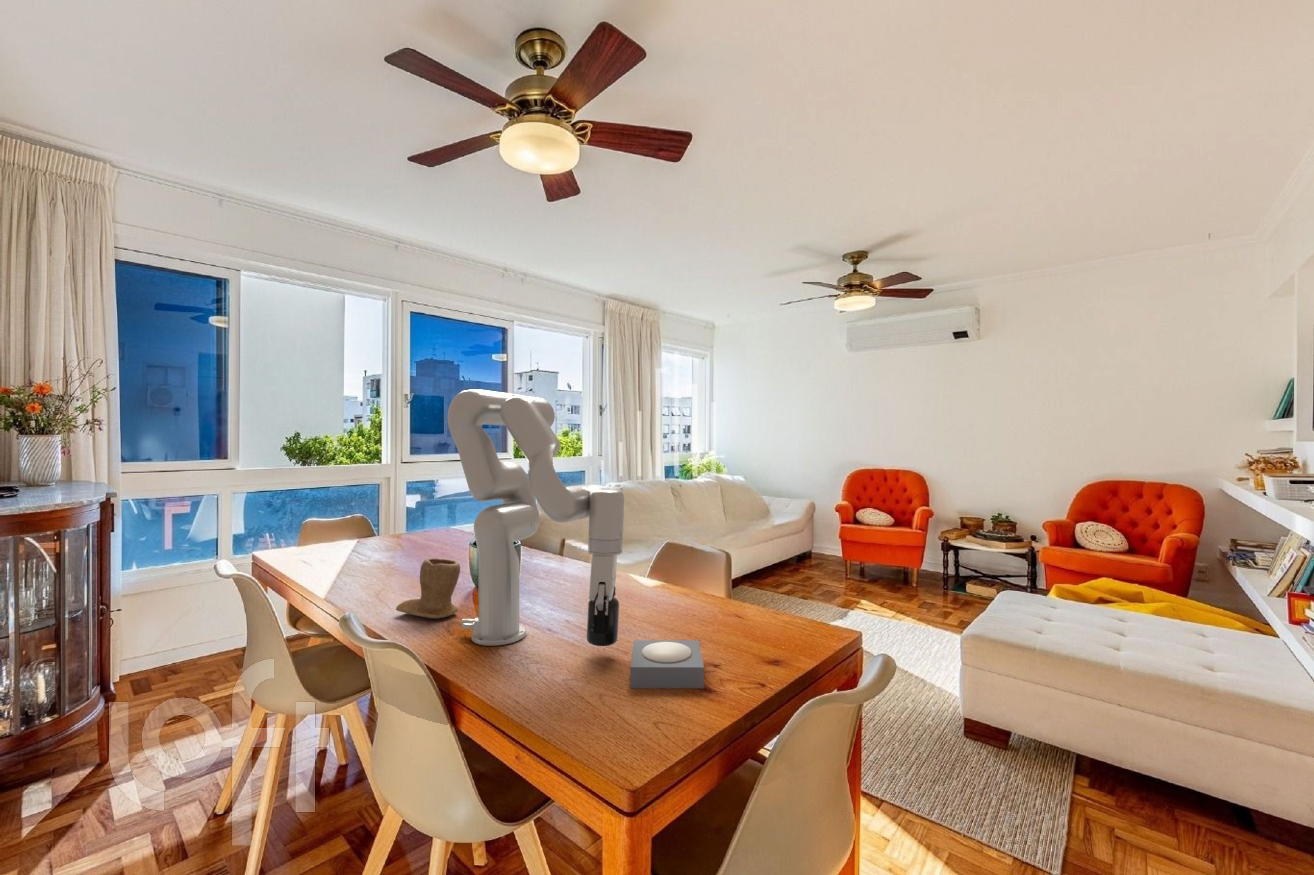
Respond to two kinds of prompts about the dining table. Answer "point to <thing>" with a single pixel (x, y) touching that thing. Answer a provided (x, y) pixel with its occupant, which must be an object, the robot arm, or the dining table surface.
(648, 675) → the plinth
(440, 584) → the tan flared hollow piece
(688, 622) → the dining table surface
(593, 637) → the supplement bottle
